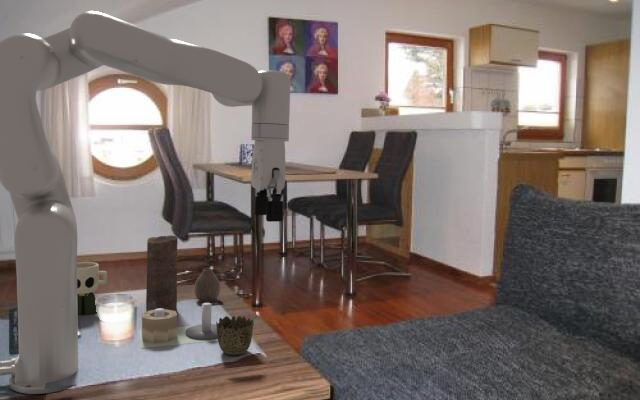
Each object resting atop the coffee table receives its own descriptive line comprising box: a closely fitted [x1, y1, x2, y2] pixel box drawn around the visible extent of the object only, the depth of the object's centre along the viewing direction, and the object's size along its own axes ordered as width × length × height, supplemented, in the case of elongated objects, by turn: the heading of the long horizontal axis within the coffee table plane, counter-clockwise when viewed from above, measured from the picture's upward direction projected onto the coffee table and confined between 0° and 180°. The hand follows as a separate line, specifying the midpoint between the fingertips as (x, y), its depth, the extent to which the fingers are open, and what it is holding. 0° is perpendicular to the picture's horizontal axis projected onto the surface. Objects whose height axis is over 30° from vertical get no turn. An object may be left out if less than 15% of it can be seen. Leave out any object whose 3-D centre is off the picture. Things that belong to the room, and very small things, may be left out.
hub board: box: [138, 302, 218, 349], centre depth 120 cm, size 18×11×8 cm, turn 111°
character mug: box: [77, 261, 108, 317], centre depth 133 cm, size 11×7×13 cm, turn 113°
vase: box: [194, 268, 221, 304], centre depth 151 cm, size 7×7×9 cm
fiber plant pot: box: [215, 315, 255, 357], centre depth 110 cm, size 8×7×8 cm
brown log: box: [145, 234, 179, 312], centre depth 136 cm, size 8×7×20 cm
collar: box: [141, 309, 178, 343], centre depth 118 cm, size 7×7×5 cm
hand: (268, 217), depth 113 cm, fingers open, 9 cm apart
